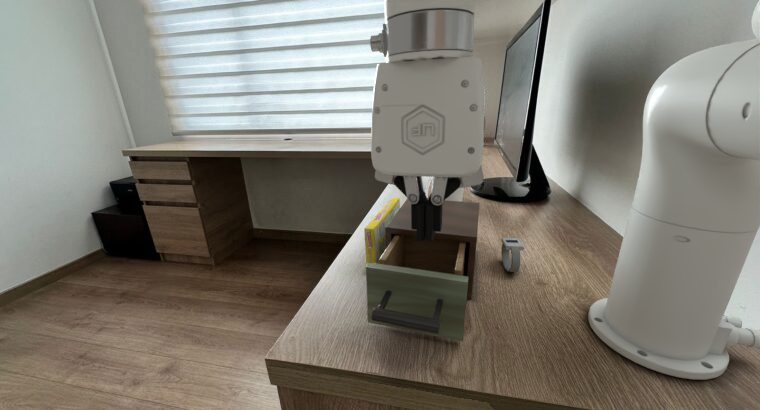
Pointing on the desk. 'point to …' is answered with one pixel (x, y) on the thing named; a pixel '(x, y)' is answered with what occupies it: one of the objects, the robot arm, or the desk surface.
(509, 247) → the wristwatch
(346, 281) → the desk surface
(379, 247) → the candy box
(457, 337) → the drawer
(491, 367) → the desk surface
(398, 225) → the cabinet
